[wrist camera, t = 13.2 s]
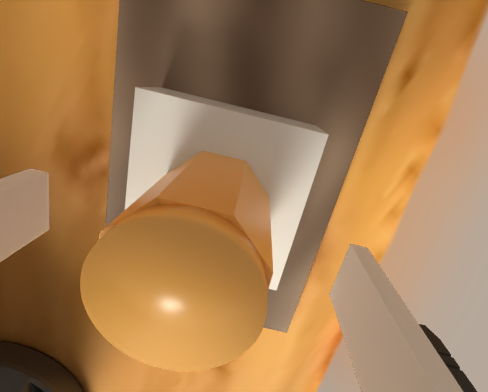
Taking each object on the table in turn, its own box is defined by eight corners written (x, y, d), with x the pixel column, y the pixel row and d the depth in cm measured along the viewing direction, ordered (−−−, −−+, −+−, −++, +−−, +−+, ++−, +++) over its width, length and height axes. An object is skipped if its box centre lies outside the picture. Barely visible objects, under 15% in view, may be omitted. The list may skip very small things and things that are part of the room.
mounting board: (110, 279, 25) (101, 290, 24) (135, -49, 17) (123, -61, 16) (285, 319, 26) (286, 332, 24) (395, 18, 17) (407, 12, 16)
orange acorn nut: (158, 236, 17) (78, 350, 10) (171, 142, 15) (82, 196, 8) (252, 258, 17) (243, 387, 10) (277, 168, 15) (290, 244, 8)
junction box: (145, 225, 22) (70, 313, 13) (161, 87, 18) (73, 86, 10) (274, 256, 22) (280, 361, 13) (315, 125, 18) (359, 156, 10)
